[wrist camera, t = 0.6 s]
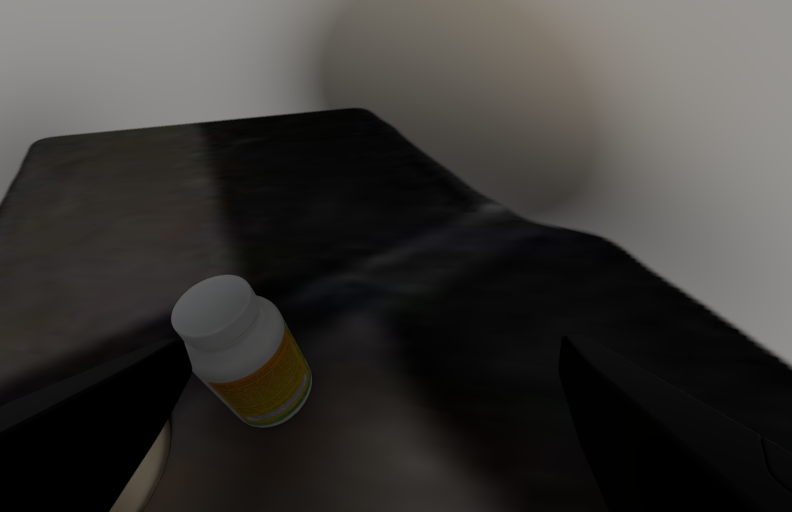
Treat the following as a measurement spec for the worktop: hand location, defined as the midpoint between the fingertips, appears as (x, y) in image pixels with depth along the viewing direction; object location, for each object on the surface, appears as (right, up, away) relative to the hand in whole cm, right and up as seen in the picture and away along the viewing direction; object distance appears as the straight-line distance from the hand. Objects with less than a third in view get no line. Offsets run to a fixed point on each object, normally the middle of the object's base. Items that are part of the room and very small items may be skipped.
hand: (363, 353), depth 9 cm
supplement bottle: (-8, -7, +17) cm, 20 cm away
